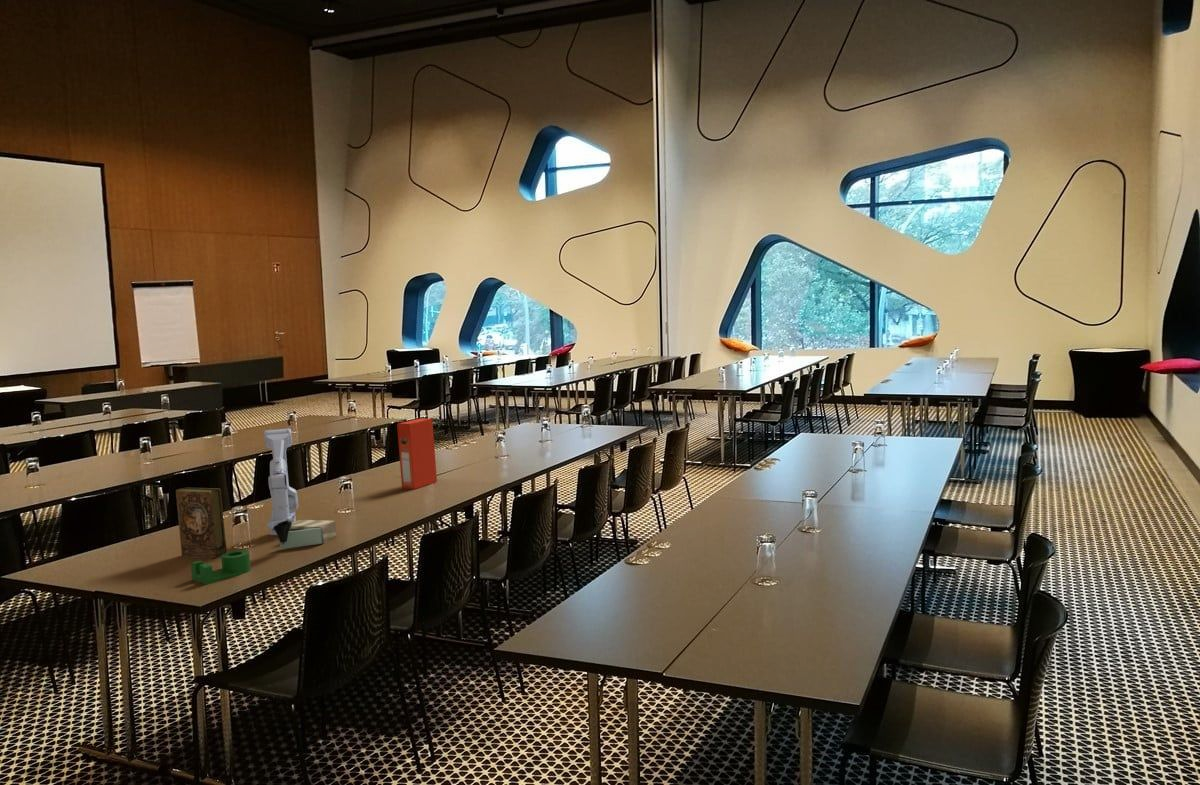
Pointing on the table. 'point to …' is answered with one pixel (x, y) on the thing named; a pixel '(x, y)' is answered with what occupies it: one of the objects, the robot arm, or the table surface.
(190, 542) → the book
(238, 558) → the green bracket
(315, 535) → the door
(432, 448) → the file binder
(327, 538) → the cabinet
